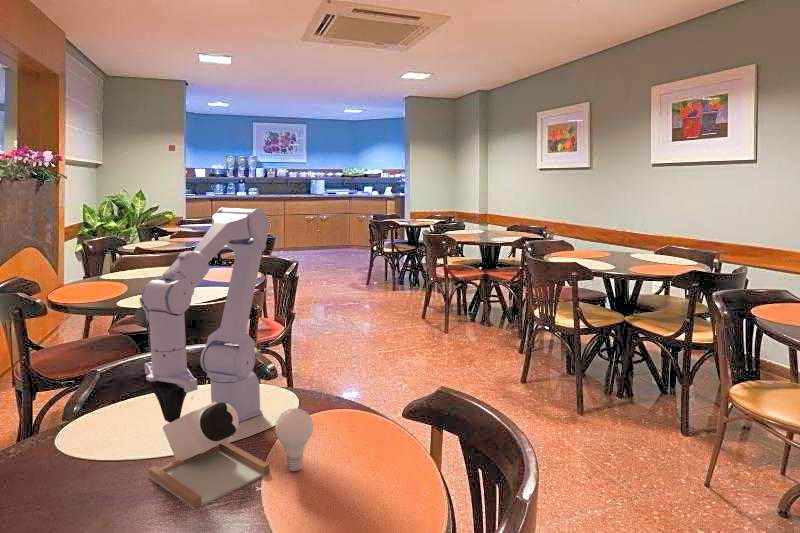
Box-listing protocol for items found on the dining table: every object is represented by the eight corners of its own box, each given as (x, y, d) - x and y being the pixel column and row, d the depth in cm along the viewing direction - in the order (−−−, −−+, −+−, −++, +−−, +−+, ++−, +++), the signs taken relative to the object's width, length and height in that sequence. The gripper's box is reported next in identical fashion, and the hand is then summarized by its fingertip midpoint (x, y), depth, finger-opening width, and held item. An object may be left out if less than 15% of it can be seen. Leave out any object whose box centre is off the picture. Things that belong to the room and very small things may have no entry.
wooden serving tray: (222, 447, 104) (222, 439, 104) (269, 473, 95) (269, 464, 95) (149, 477, 93) (148, 468, 93) (194, 509, 84) (193, 500, 84)
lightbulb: (320, 464, 98) (319, 405, 96) (302, 483, 92) (301, 420, 91) (288, 458, 100) (287, 400, 98) (269, 475, 94) (267, 414, 93)
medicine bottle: (177, 464, 97) (219, 446, 92) (161, 426, 98) (202, 406, 92) (208, 447, 104) (249, 429, 98) (193, 412, 104) (233, 392, 99)
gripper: (126, 344, 100) (131, 415, 102) (168, 361, 91) (172, 439, 93) (164, 335, 105) (167, 403, 107) (207, 351, 96) (210, 425, 98)
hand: (172, 419), depth 101 cm, fingers closed
